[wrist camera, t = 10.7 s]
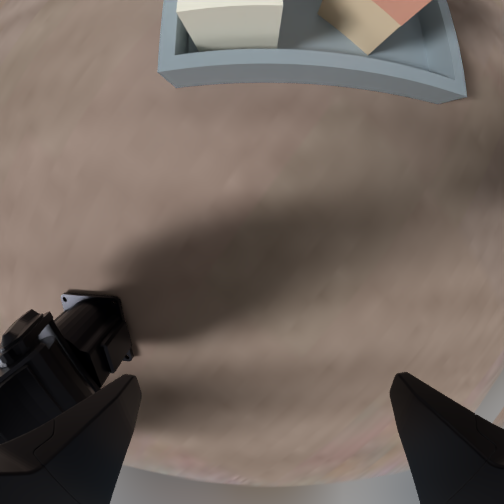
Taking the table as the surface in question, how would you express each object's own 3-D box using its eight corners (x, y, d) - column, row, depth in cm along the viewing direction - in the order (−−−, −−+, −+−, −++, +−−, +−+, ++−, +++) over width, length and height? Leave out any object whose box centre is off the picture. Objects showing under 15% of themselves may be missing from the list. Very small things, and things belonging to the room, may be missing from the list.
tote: (175, 88, 18) (157, 72, 14) (184, -30, 14) (173, -56, 10) (438, 104, 17) (467, 97, 13) (416, -11, 14) (435, -29, 10)
